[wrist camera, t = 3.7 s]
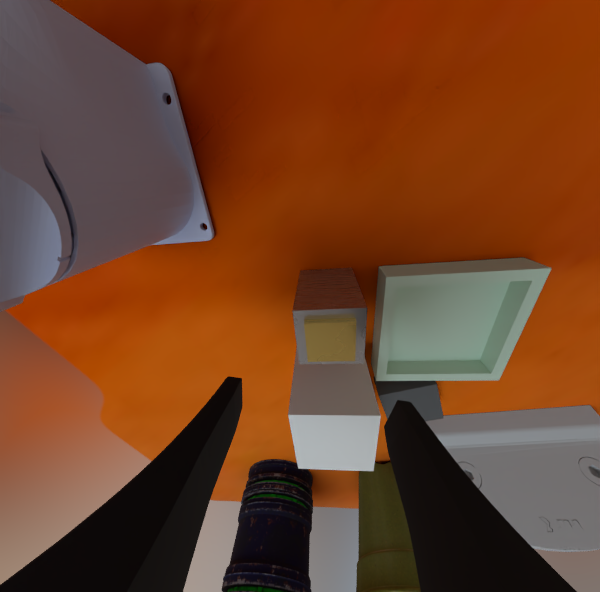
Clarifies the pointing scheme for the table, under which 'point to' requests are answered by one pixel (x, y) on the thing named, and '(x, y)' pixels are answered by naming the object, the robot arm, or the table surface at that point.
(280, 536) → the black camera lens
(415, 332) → the tray
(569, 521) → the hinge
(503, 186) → the table surface
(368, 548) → the plant pot
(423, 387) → the square block
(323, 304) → the block
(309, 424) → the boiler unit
